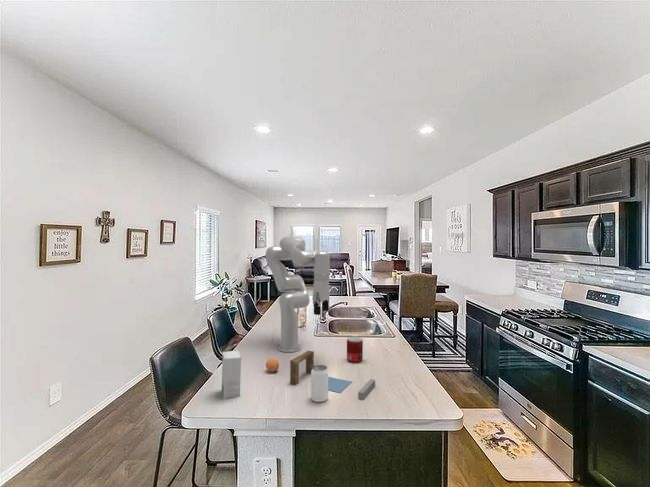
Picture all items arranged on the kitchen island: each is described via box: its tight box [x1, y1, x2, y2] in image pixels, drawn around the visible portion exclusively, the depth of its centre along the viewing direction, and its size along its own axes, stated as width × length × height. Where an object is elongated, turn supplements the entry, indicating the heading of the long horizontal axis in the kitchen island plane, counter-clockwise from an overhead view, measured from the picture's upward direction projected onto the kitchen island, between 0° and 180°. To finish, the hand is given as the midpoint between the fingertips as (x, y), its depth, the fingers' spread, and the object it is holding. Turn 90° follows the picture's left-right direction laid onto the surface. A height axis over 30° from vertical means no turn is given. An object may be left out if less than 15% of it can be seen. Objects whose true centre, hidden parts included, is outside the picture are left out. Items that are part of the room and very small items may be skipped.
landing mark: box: [328, 376, 353, 394], centre depth 143 cm, size 12×12×1 cm
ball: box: [265, 357, 280, 373], centre depth 157 cm, size 6×6×6 cm
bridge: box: [289, 350, 315, 386], centre depth 150 cm, size 3×15×10 cm, turn 153°
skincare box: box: [221, 350, 242, 400], centre depth 135 cm, size 8×7×16 cm
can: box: [310, 364, 329, 403], centre depth 130 cm, size 6×6×12 cm
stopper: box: [357, 378, 376, 400], centre depth 136 cm, size 2×14×2 cm, turn 153°
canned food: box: [346, 336, 364, 364], centre depth 172 cm, size 8×8×11 cm
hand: (321, 312), depth 166 cm, fingers open, 9 cm apart
